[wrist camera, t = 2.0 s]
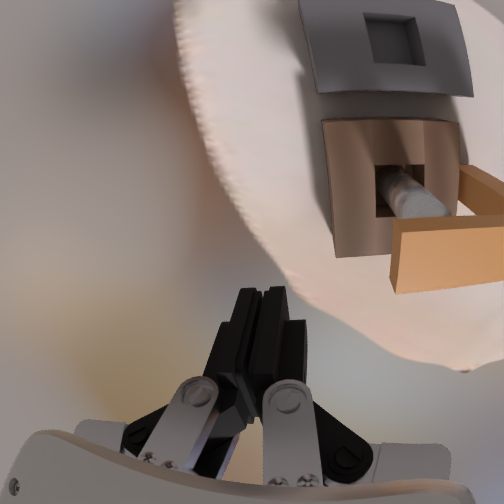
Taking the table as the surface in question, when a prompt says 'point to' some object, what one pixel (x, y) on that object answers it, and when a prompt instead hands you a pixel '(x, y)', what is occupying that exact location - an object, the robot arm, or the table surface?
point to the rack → (386, 46)
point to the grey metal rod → (407, 195)
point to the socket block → (368, 165)
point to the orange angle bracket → (453, 241)
